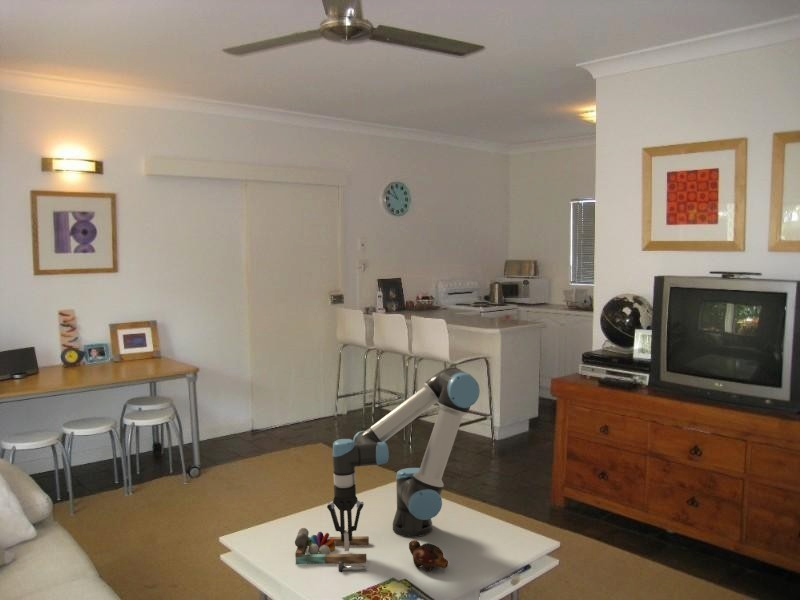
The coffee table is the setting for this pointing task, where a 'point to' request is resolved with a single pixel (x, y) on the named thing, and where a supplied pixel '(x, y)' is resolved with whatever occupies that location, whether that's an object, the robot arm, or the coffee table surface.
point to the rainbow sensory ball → (321, 544)
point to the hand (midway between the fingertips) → (347, 549)
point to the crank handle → (350, 567)
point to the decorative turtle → (427, 555)
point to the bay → (303, 558)
